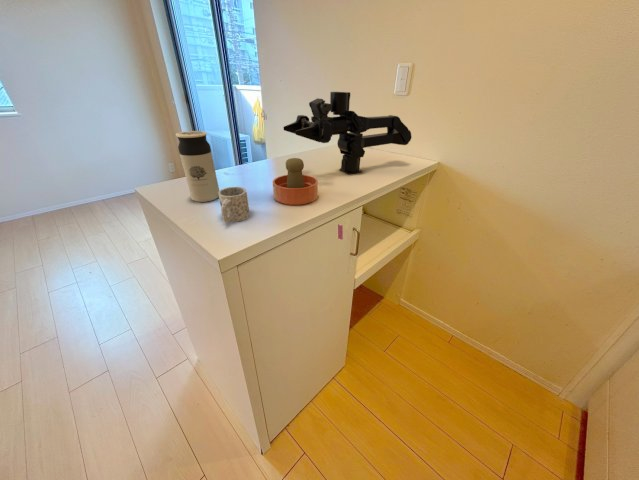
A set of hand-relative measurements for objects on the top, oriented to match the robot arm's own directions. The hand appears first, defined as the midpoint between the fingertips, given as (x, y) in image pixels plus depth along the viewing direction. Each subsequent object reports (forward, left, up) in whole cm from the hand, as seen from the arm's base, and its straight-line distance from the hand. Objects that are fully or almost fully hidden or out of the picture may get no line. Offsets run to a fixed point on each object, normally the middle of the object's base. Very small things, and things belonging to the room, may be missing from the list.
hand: (289, 130), depth 81 cm
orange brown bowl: (+5, +14, -17) cm, 22 cm away
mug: (+25, +20, -17) cm, 36 cm away
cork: (+5, +14, -16) cm, 22 cm away
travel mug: (+29, +2, -17) cm, 33 cm away
